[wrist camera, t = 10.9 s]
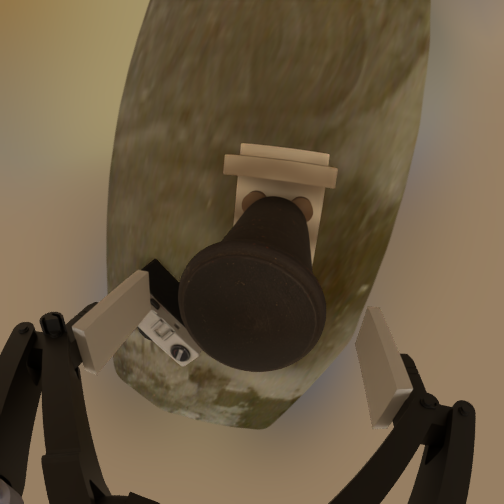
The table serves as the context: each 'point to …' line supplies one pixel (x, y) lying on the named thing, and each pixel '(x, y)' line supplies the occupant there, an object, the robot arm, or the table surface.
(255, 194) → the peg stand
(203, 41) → the table surface
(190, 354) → the camera
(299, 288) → the container
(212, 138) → the table surface
